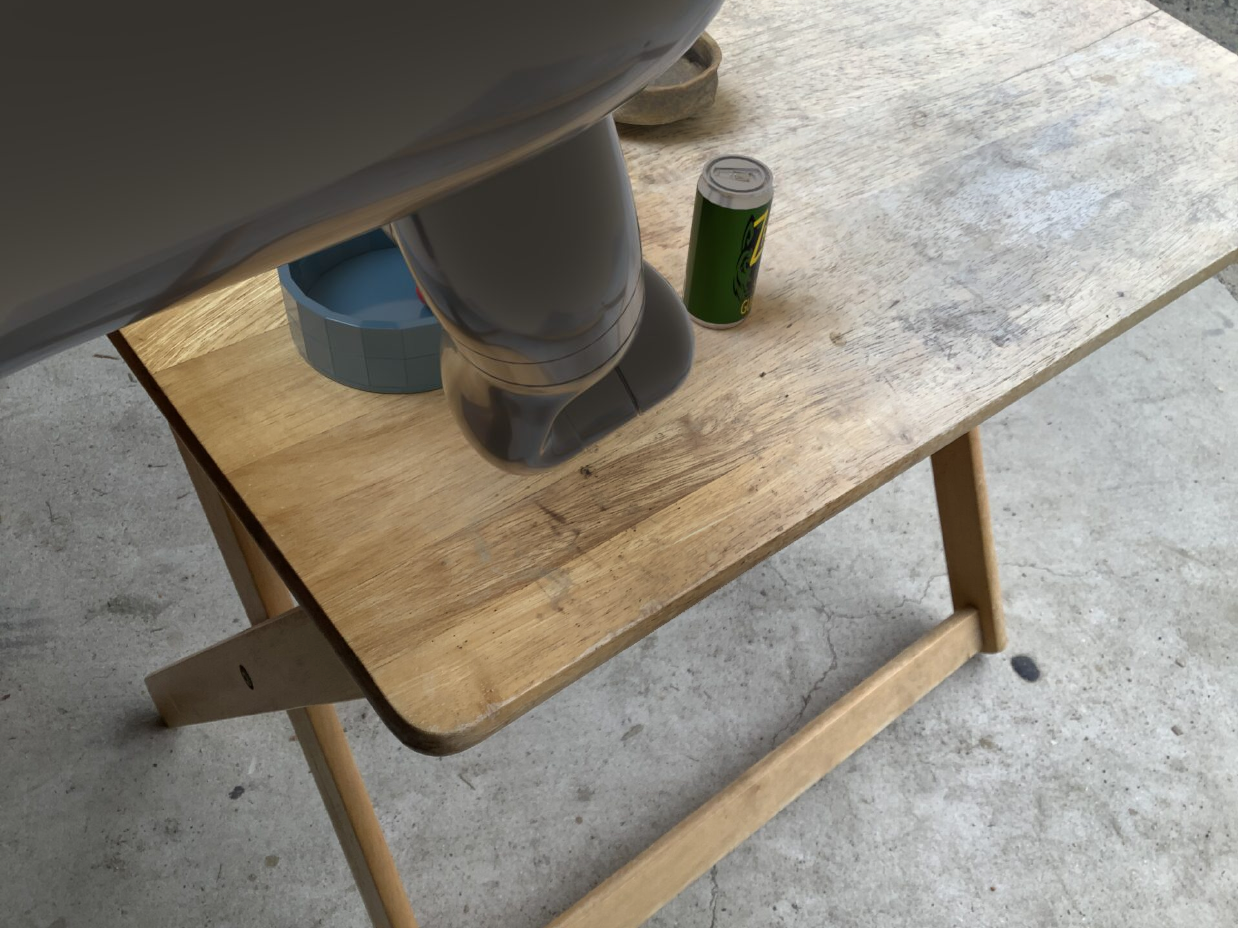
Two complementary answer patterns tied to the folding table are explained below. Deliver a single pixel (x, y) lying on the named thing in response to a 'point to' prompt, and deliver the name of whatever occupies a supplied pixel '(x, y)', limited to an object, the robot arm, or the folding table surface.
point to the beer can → (727, 239)
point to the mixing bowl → (362, 317)
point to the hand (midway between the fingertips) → (319, 12)
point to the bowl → (677, 88)
